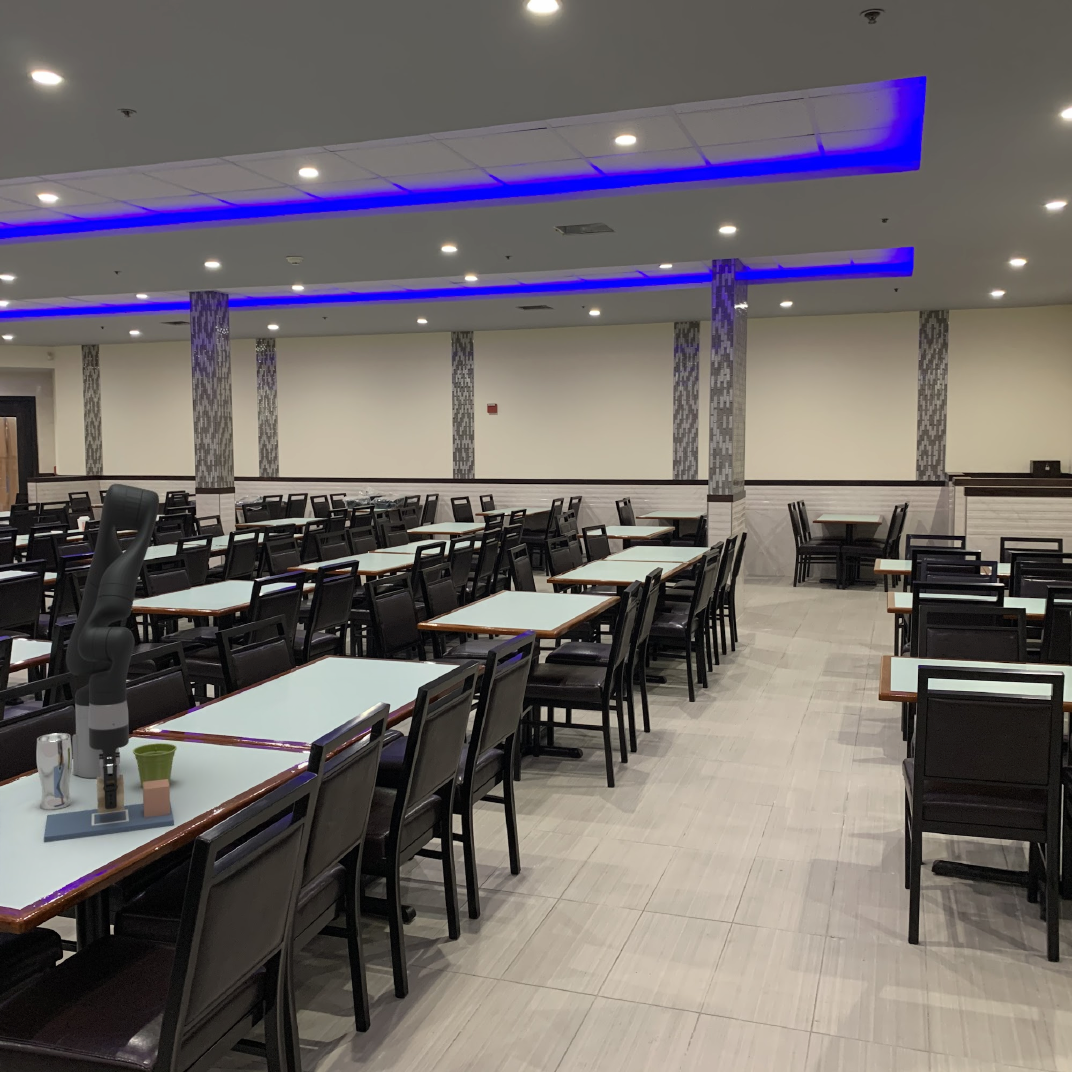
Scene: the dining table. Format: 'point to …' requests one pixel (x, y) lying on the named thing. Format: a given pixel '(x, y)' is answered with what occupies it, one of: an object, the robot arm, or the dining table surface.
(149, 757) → the plant pot
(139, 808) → the board
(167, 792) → the terracotta block
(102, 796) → the maple block
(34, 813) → the dining table surface
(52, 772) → the beer glass
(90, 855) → the dining table surface
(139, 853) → the dining table surface
